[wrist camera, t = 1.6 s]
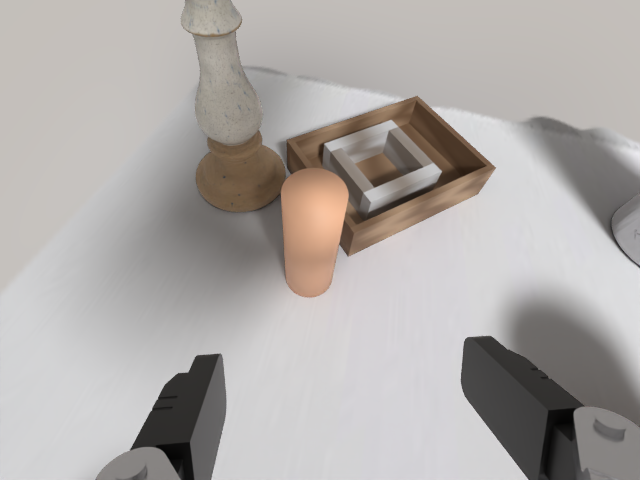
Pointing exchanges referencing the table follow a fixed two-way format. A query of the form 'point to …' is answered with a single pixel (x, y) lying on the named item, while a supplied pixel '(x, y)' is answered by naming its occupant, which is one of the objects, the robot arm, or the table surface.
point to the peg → (312, 228)
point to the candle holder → (229, 115)
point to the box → (392, 168)
